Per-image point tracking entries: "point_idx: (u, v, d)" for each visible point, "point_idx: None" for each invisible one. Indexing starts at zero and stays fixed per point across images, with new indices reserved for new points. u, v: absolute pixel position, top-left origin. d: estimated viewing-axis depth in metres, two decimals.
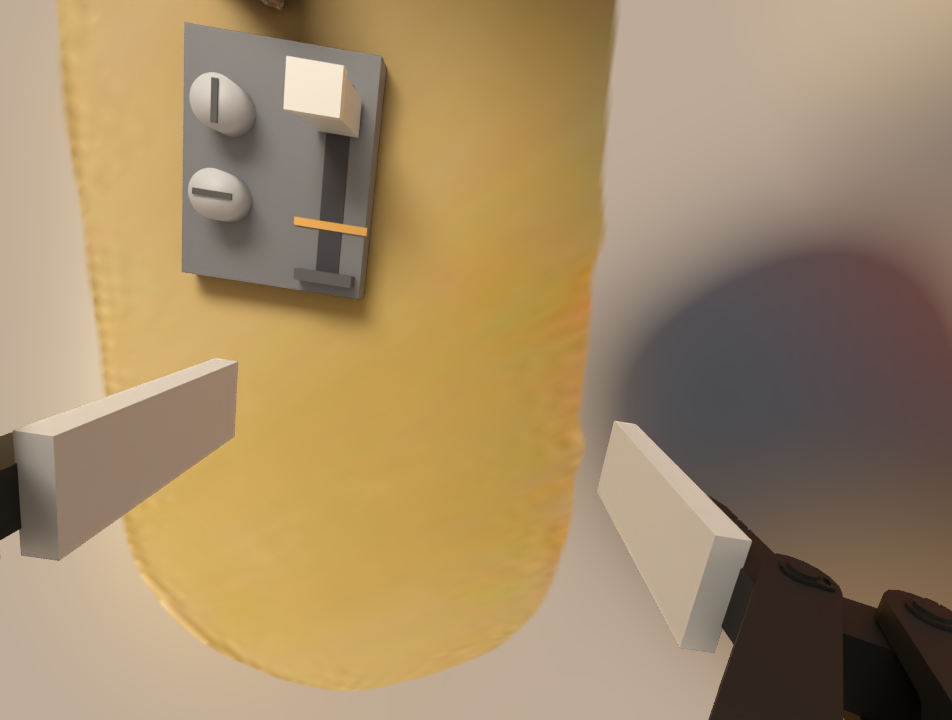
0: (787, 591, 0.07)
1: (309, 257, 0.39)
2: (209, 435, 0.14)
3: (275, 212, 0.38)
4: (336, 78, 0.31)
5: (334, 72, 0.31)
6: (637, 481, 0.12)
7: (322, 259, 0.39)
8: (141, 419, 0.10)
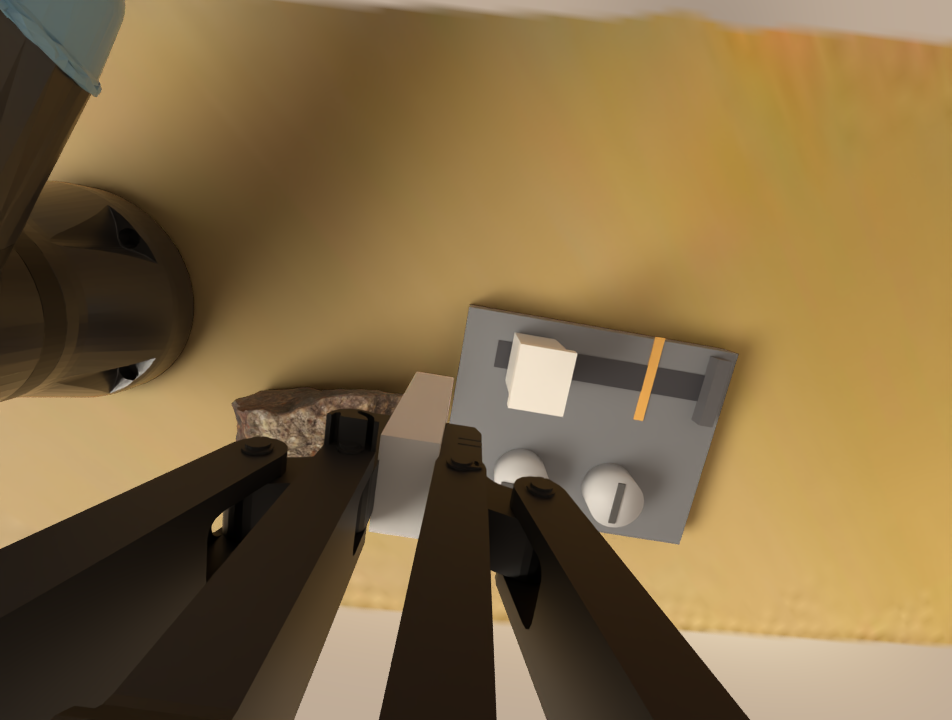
0: (452, 481, 0.09)
1: (681, 407, 0.33)
2: None
3: (626, 439, 0.33)
4: (534, 353, 0.26)
5: (527, 355, 0.26)
6: None
7: (685, 393, 0.33)
8: None
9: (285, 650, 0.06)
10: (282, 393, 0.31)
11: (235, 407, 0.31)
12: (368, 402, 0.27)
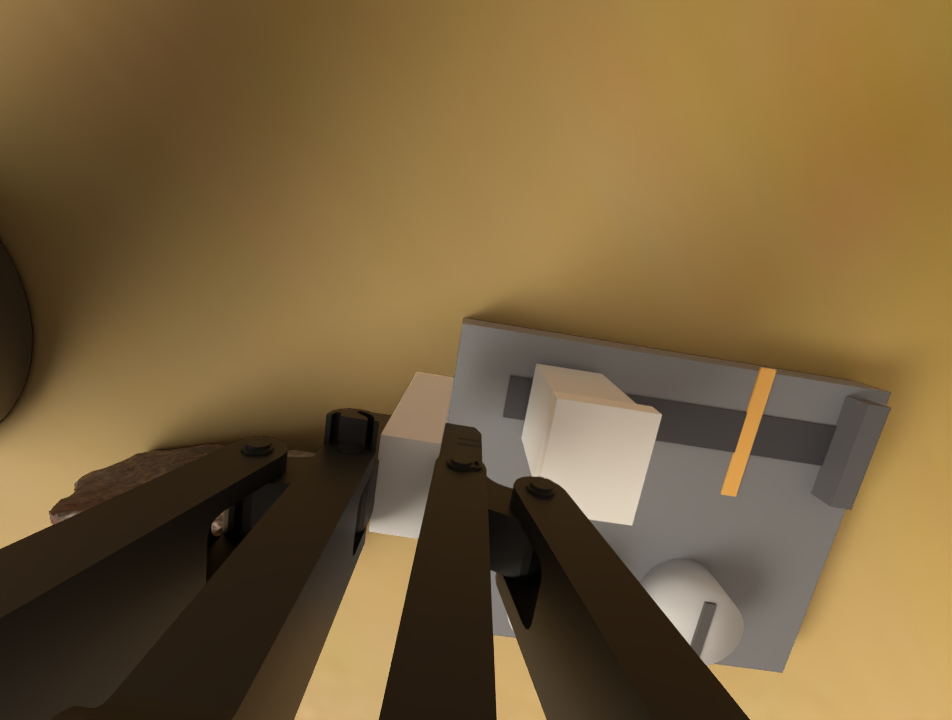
0: (452, 481, 0.09)
1: (795, 474, 0.21)
2: None
3: (709, 524, 0.22)
4: (582, 416, 0.14)
5: (570, 418, 0.14)
6: None
7: (803, 453, 0.21)
8: None
9: (285, 650, 0.06)
10: (155, 464, 0.19)
11: None
12: None
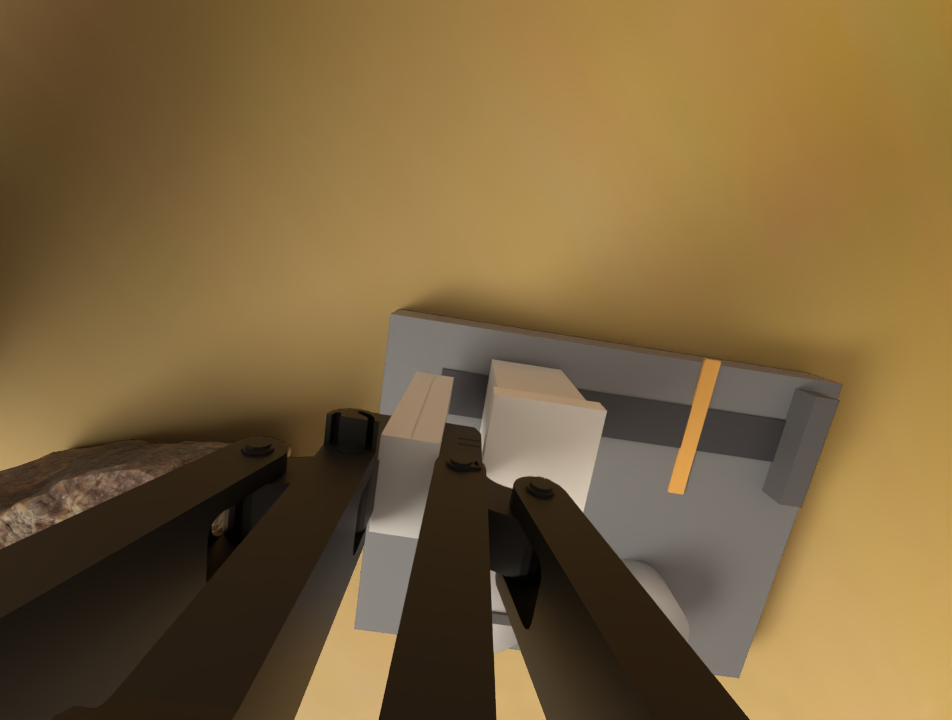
0: (452, 481, 0.09)
1: (745, 471, 0.20)
2: None
3: (656, 523, 0.21)
4: (522, 413, 0.13)
5: (509, 415, 0.13)
6: None
7: (753, 448, 0.20)
8: None
9: (285, 650, 0.06)
10: (58, 460, 0.18)
11: None
12: None
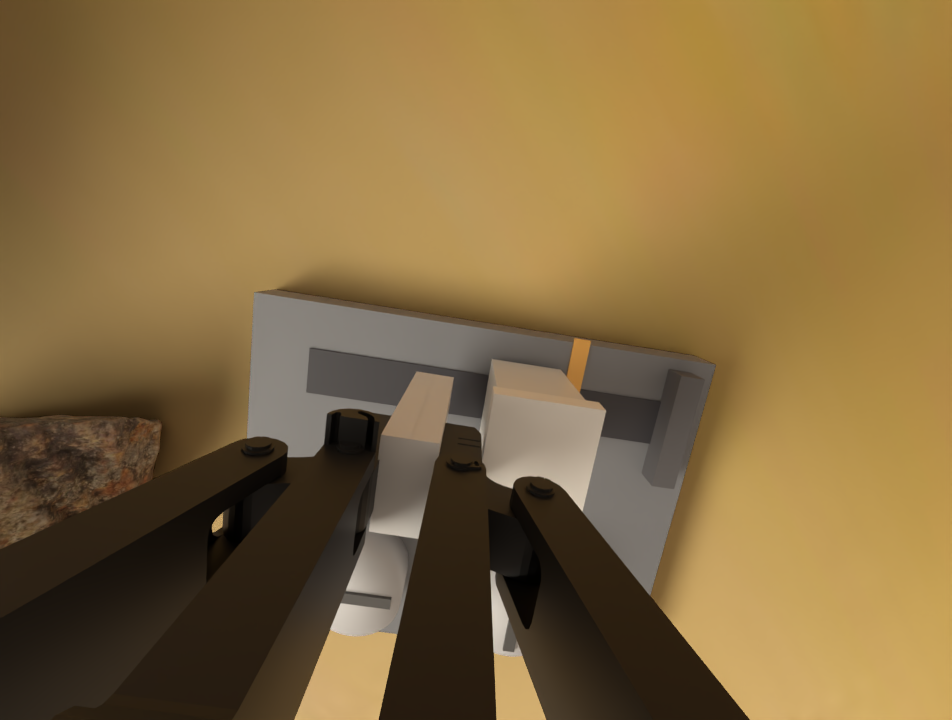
0: (452, 481, 0.09)
1: (623, 453, 0.20)
2: None
3: None
4: (521, 412, 0.13)
5: (508, 415, 0.13)
6: None
7: (630, 430, 0.20)
8: None
9: (285, 650, 0.06)
10: None
11: None
12: None
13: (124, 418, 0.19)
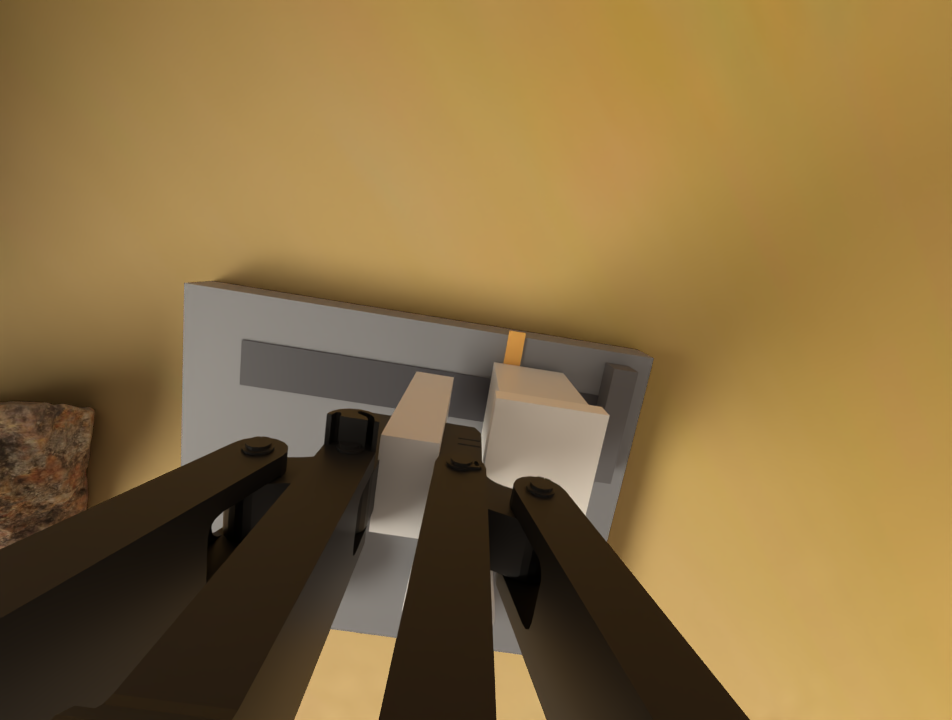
0: (452, 481, 0.09)
1: None
2: None
3: None
4: (523, 417, 0.13)
5: (510, 419, 0.13)
6: None
7: None
8: None
9: (285, 650, 0.06)
10: None
11: None
12: None
13: (46, 404, 0.18)
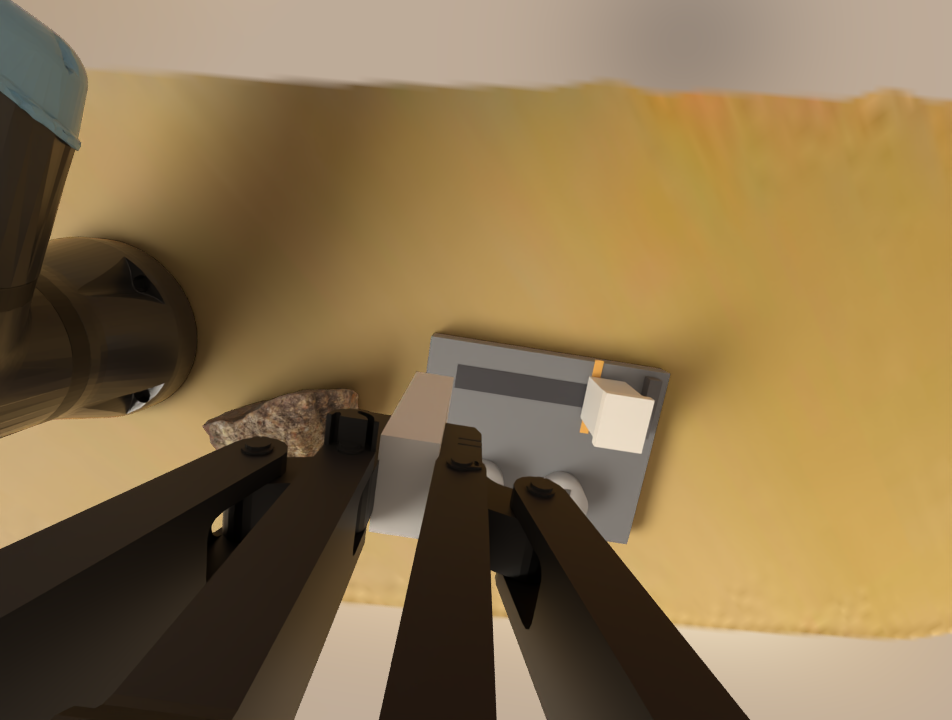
0: (452, 481, 0.09)
1: None
2: None
3: (574, 450, 0.38)
4: (618, 401, 0.30)
5: (612, 402, 0.30)
6: None
7: None
8: None
9: (285, 650, 0.06)
10: (244, 407, 0.36)
11: None
12: (306, 398, 0.32)
13: (349, 389, 0.36)
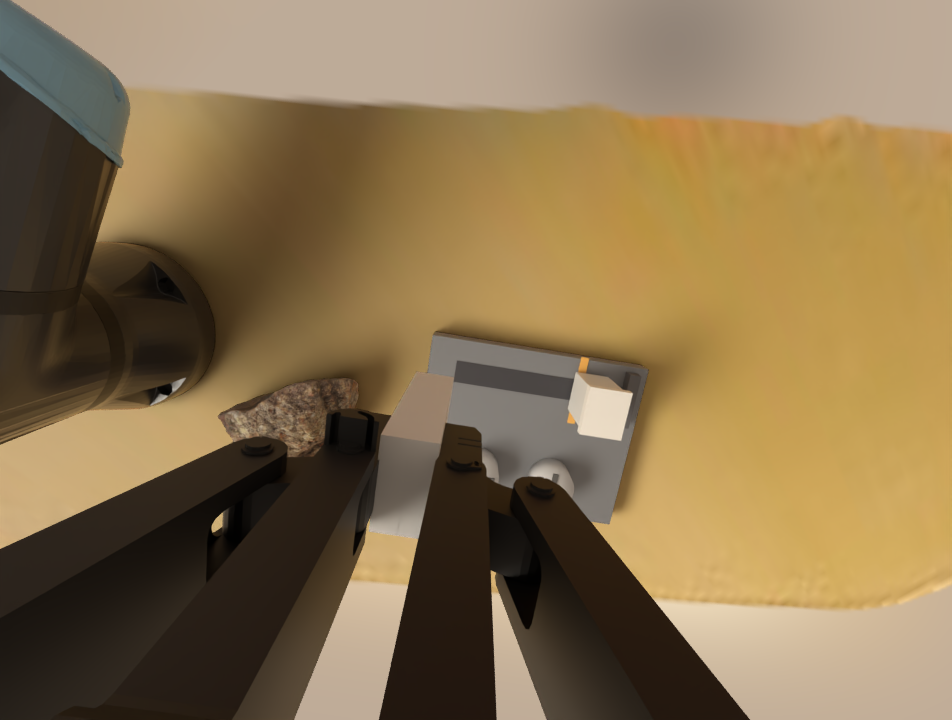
0: (452, 481, 0.09)
1: None
2: None
3: (562, 439, 0.41)
4: (600, 394, 0.34)
5: (595, 395, 0.34)
6: None
7: None
8: None
9: (285, 650, 0.06)
10: (254, 398, 0.39)
11: None
12: (311, 386, 0.35)
13: None
